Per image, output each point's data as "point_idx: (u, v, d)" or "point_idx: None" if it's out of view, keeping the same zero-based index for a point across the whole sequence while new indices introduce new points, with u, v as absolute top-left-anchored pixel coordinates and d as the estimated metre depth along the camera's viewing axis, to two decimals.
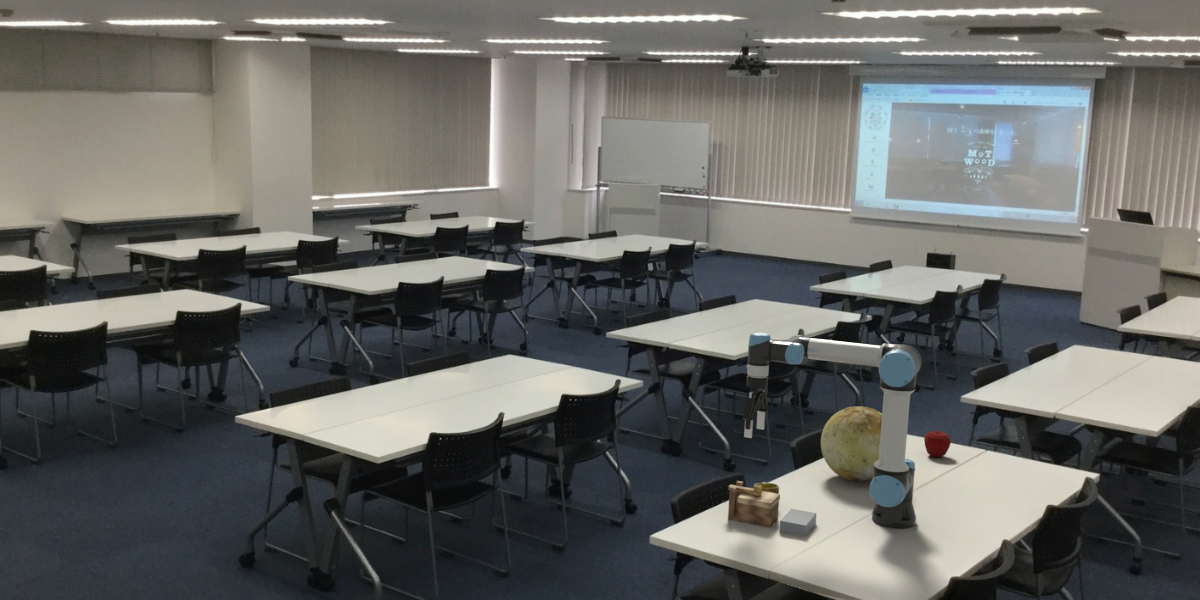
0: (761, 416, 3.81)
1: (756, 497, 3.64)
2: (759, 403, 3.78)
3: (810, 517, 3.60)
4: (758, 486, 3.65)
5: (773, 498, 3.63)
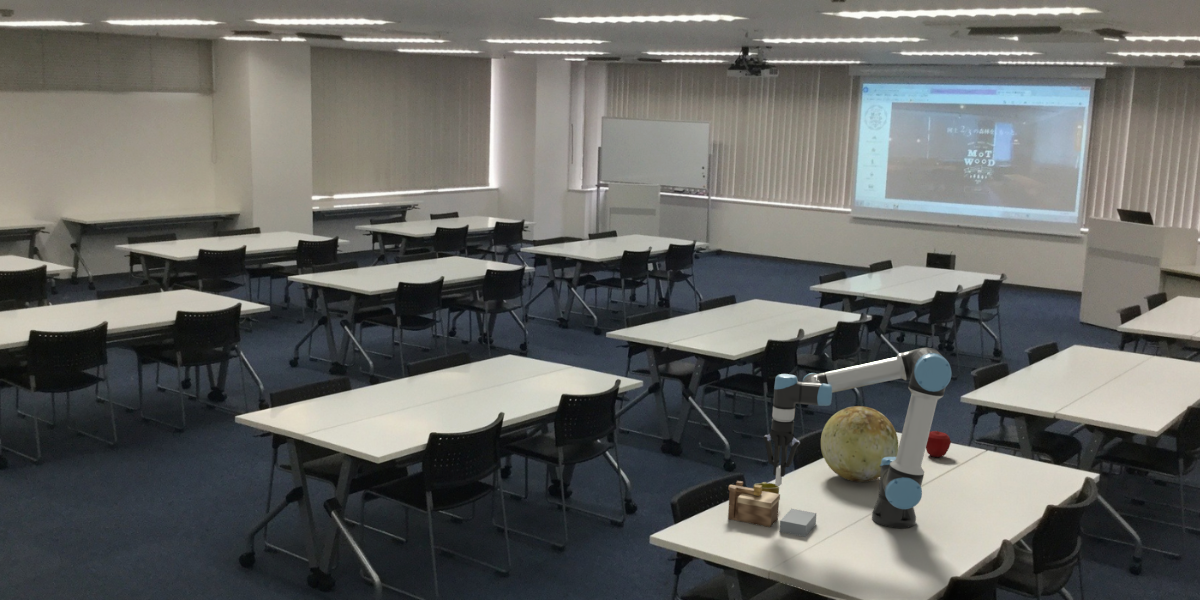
0: None
1: (756, 497, 3.64)
2: None
3: (810, 517, 3.60)
4: (758, 486, 3.65)
5: (773, 498, 3.63)
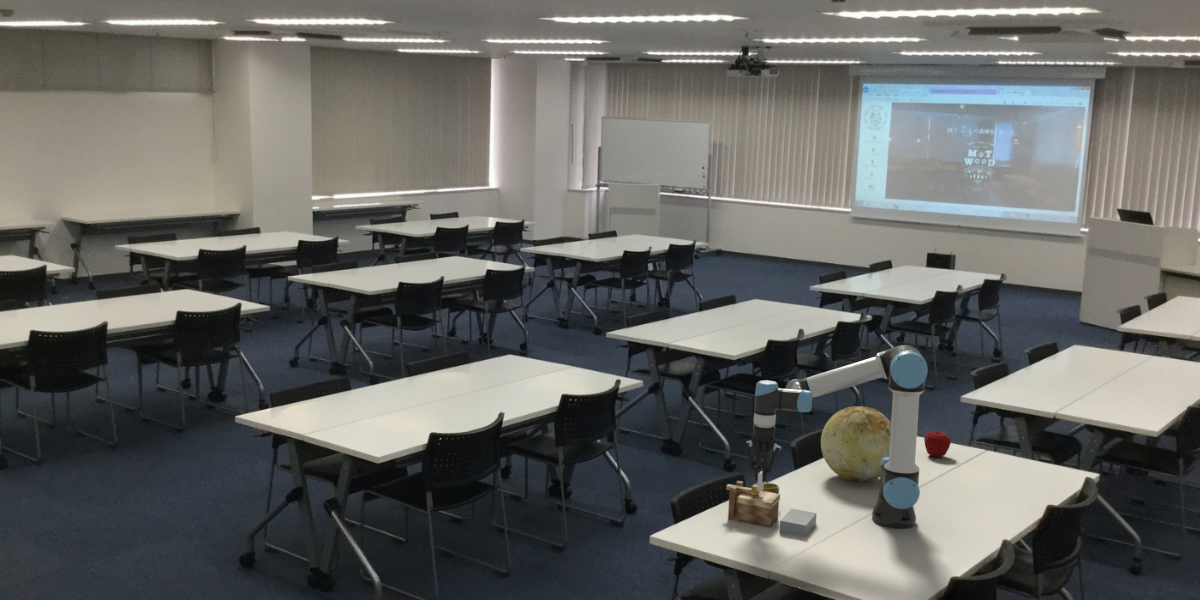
0: None
1: (756, 497, 3.64)
2: None
3: (810, 517, 3.60)
4: (756, 486, 3.65)
5: (773, 498, 3.63)
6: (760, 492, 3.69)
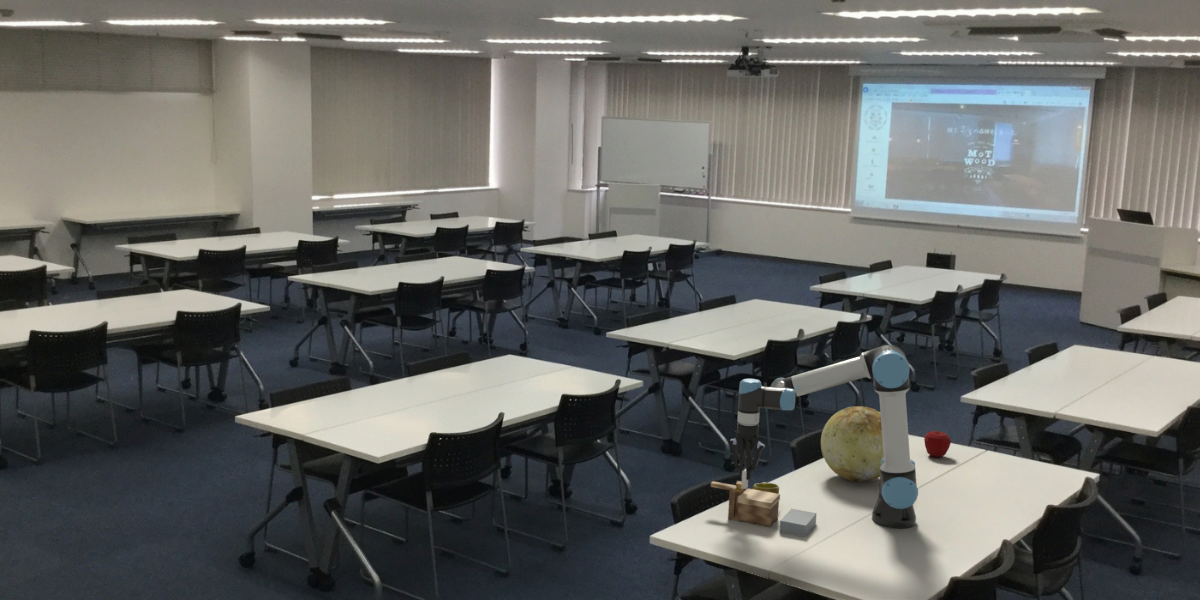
0: None
1: (756, 497, 3.64)
2: None
3: (810, 517, 3.60)
4: (740, 483, 3.68)
5: (773, 498, 3.63)
6: (760, 492, 3.69)
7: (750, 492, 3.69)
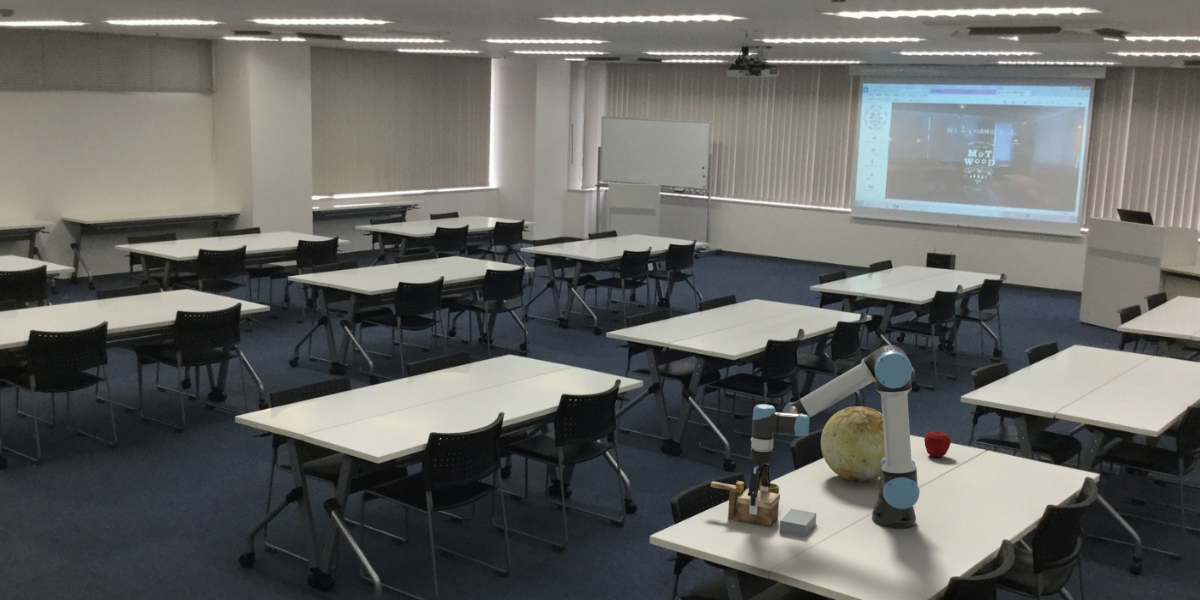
0: None
1: None
2: (762, 477, 3.68)
3: (810, 517, 3.60)
4: (740, 483, 3.68)
5: (773, 498, 3.63)
6: (760, 492, 3.69)
7: None
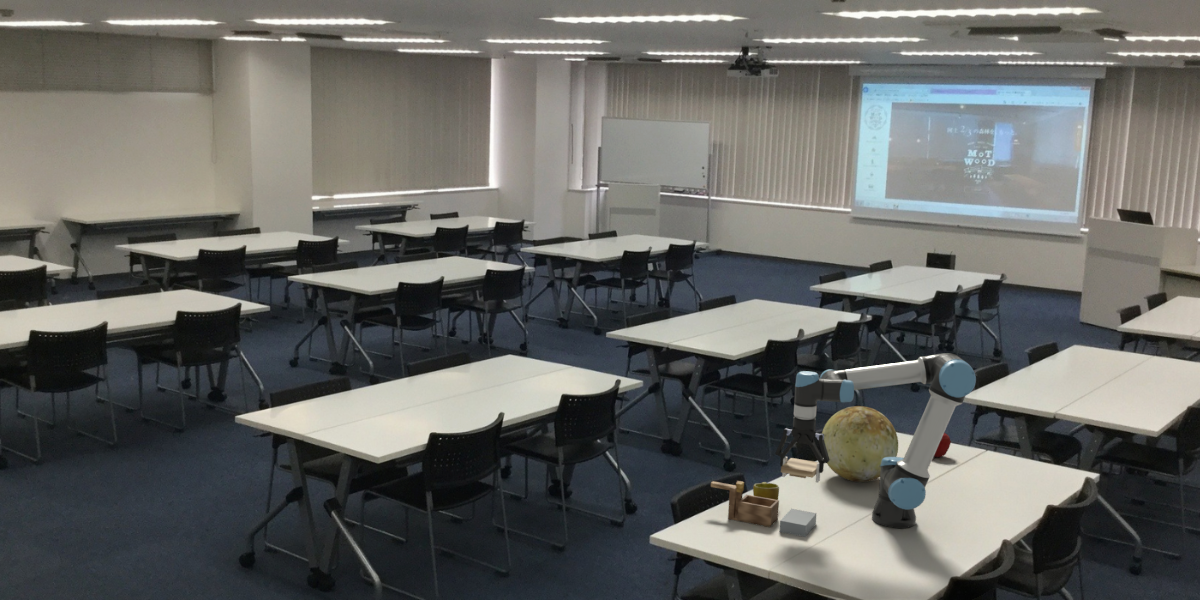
0: None
1: (795, 463, 3.58)
2: None
3: (810, 517, 3.60)
4: (740, 483, 3.68)
5: (796, 468, 3.53)
6: (812, 466, 3.56)
7: (810, 463, 3.60)
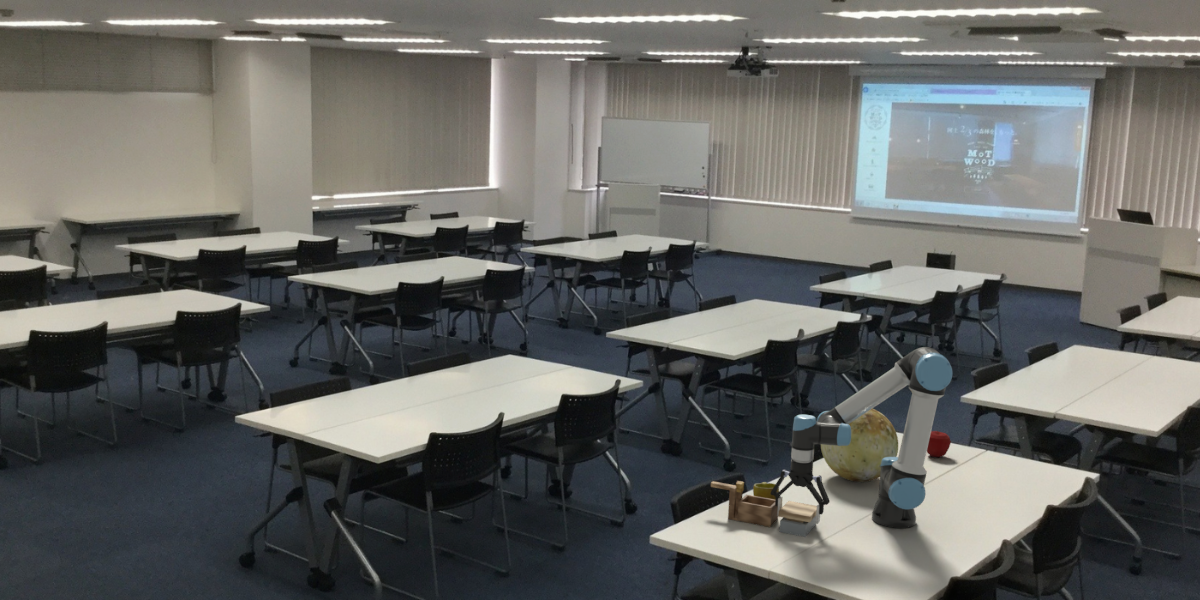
0: None
1: (793, 507, 3.61)
2: None
3: None
4: (740, 483, 3.68)
5: (794, 513, 3.55)
6: (809, 509, 3.59)
7: (807, 506, 3.62)
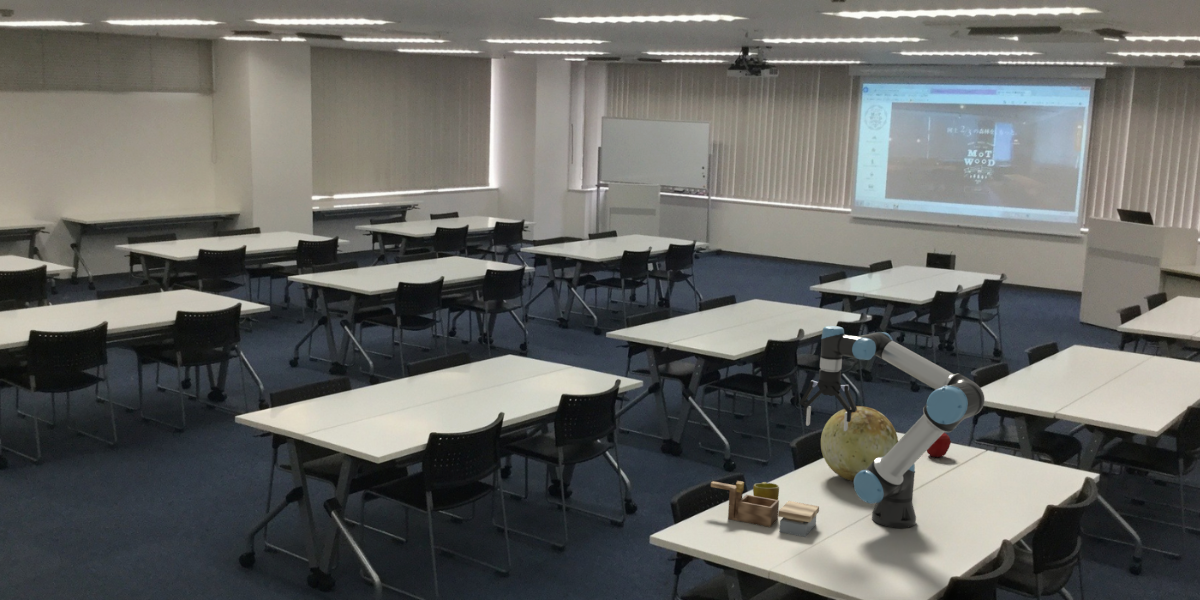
0: None
1: (793, 507, 3.61)
2: None
3: None
4: (740, 483, 3.68)
5: (794, 513, 3.55)
6: (809, 509, 3.59)
7: (807, 506, 3.62)
